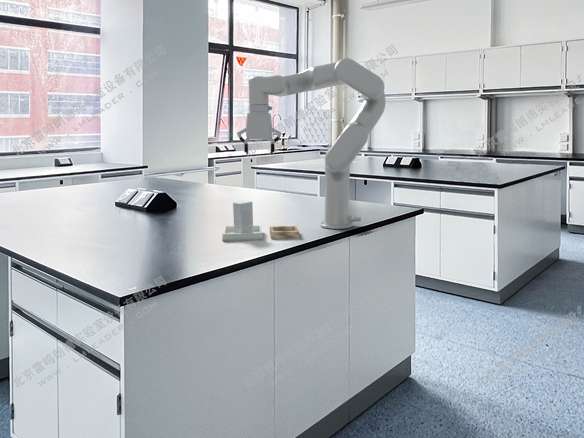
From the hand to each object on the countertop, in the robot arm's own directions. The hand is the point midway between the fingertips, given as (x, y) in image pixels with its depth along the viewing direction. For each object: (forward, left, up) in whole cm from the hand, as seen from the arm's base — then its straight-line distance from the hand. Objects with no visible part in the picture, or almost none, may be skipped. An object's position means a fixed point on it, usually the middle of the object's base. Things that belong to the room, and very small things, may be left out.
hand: (259, 154), depth 207 cm
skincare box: (+7, +20, -28) cm, 35 cm away
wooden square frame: (-8, +20, -28) cm, 36 cm away
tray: (+7, +20, -28) cm, 35 cm away
